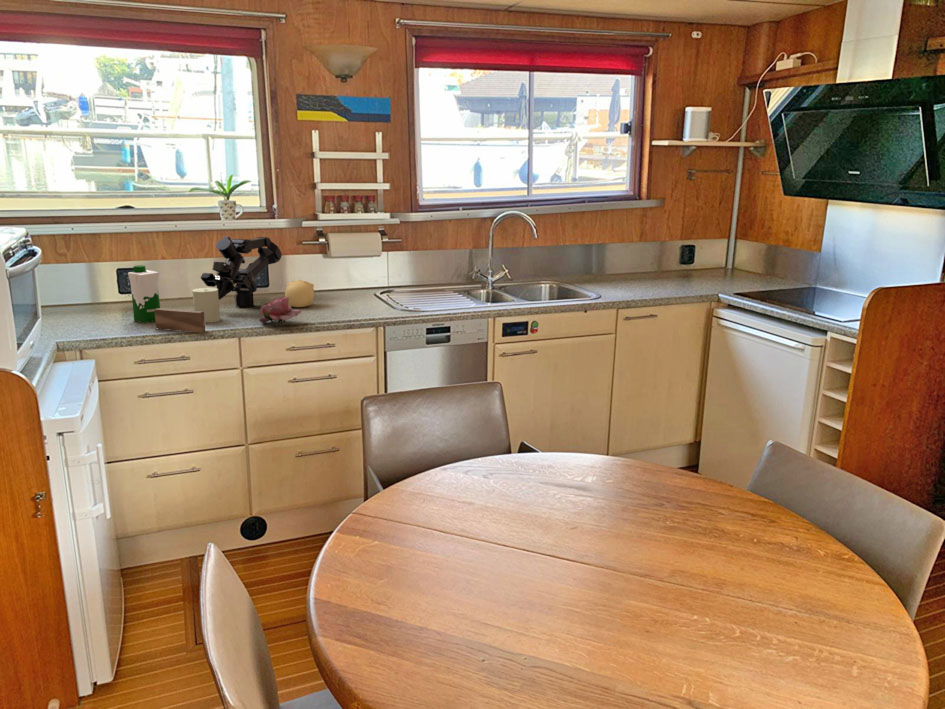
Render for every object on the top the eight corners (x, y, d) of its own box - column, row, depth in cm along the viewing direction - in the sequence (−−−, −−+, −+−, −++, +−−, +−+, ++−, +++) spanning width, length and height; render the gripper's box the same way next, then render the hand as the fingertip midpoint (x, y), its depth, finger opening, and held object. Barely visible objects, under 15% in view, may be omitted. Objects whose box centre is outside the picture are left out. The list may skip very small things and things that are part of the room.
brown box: (160, 327, 274) (159, 308, 272) (205, 330, 270) (204, 311, 268) (156, 328, 271) (154, 309, 270) (201, 332, 267) (199, 312, 265)
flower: (306, 312, 288) (296, 288, 284) (298, 326, 274) (287, 301, 271) (269, 322, 290) (259, 298, 286) (259, 336, 276) (248, 311, 272)
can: (196, 323, 280) (193, 291, 277) (192, 318, 288) (190, 287, 285) (222, 321, 284) (220, 289, 281) (218, 316, 292) (215, 285, 289)
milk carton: (150, 316, 290) (145, 264, 285) (166, 319, 286) (161, 266, 280) (130, 320, 283) (124, 267, 278) (145, 324, 278) (140, 269, 273)
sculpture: (316, 303, 319) (315, 277, 316) (311, 309, 308) (310, 282, 305) (288, 303, 319) (287, 277, 316) (282, 309, 307) (281, 282, 304)
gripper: (201, 252, 295) (186, 285, 287) (244, 254, 290) (231, 288, 283) (214, 269, 304) (200, 301, 297) (256, 271, 300) (243, 304, 292)
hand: (218, 298), depth 292 cm, fingers closed
